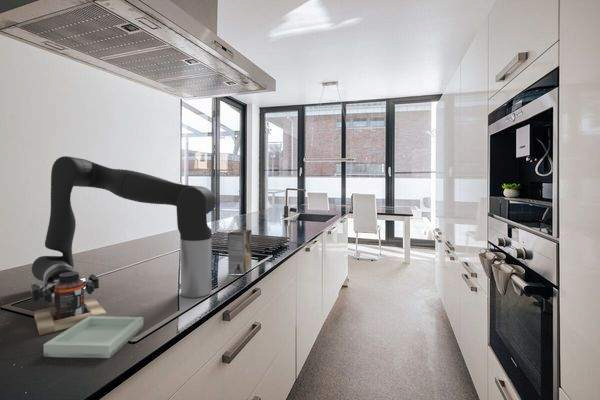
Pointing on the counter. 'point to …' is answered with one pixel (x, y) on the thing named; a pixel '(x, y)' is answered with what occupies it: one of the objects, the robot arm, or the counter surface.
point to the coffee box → (239, 251)
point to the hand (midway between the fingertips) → (70, 294)
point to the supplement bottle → (69, 296)
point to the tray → (94, 337)
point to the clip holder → (49, 325)
